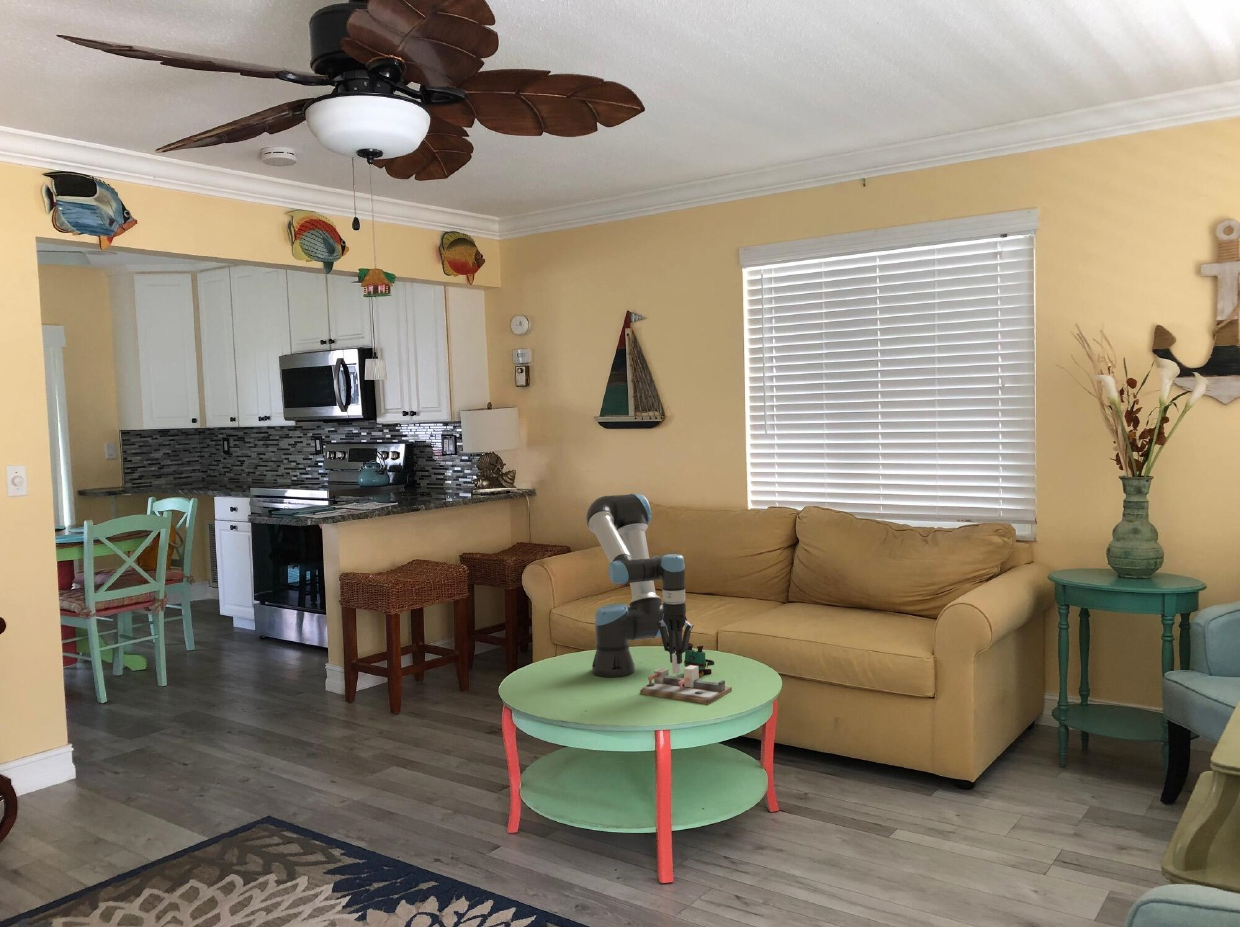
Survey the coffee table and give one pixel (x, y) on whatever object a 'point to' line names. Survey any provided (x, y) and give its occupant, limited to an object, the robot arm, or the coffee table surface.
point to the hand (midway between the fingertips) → (676, 672)
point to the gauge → (684, 688)
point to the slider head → (690, 676)
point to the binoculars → (697, 659)
